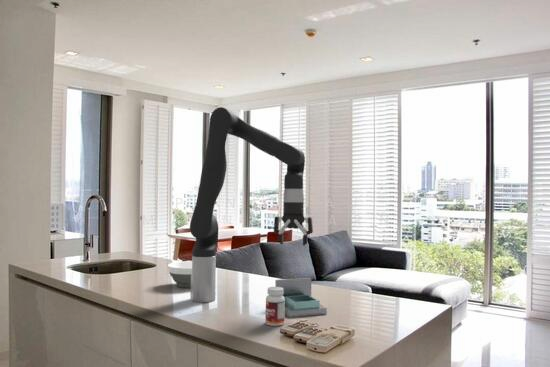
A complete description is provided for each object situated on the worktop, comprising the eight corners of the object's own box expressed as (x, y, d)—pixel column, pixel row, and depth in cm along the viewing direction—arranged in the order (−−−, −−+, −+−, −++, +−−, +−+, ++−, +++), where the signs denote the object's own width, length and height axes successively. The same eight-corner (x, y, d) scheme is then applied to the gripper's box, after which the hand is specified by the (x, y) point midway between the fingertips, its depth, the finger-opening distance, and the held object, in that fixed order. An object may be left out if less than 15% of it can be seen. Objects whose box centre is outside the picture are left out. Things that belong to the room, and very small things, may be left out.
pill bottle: (261, 323, 141) (261, 288, 141) (273, 319, 145) (274, 285, 146) (276, 327, 137) (276, 291, 137) (288, 323, 141) (288, 288, 142)
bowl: (158, 288, 192) (158, 266, 192) (183, 280, 210) (183, 260, 210) (196, 292, 185) (196, 269, 185) (219, 283, 203) (219, 262, 203)
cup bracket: (289, 317, 148) (289, 287, 148) (275, 307, 161) (275, 279, 162) (326, 313, 153) (326, 285, 153) (309, 304, 166) (310, 277, 166)
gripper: (272, 201, 161) (271, 245, 161) (310, 201, 158) (310, 246, 157) (277, 200, 168) (276, 243, 168) (314, 201, 165) (313, 244, 164)
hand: (293, 244), depth 163 cm, fingers open, 8 cm apart
